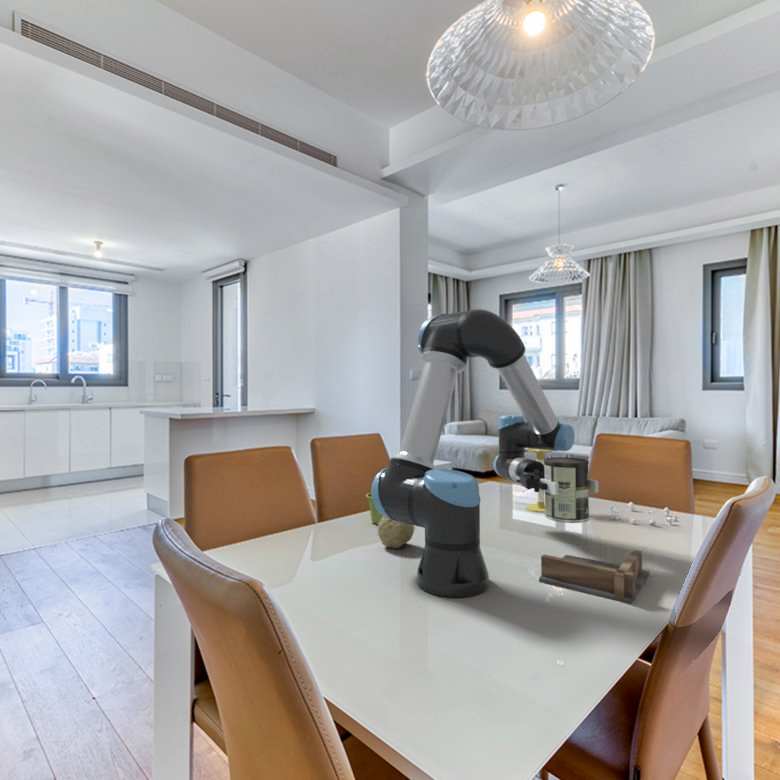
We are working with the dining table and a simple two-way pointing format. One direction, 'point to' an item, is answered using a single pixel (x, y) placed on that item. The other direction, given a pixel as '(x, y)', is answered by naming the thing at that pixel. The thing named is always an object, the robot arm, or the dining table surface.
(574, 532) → the dining table surface
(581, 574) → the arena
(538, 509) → the candle
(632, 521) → the game piece set
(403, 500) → the robot arm
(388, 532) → the coral
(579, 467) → the coffee can
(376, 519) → the plant pot
